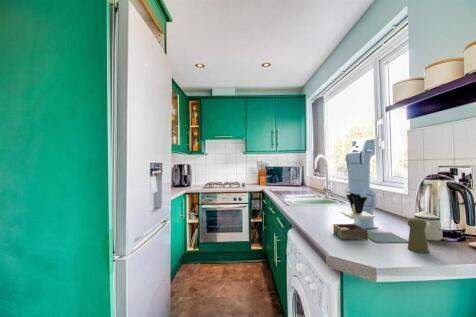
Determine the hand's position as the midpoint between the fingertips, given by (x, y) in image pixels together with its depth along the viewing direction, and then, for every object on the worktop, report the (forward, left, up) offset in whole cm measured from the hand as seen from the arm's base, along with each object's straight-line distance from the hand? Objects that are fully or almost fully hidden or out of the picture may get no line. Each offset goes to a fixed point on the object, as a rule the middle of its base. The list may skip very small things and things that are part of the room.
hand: (356, 212), depth 99 cm
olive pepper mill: (+16, +14, -11) cm, 23 cm away
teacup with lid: (+3, +27, -11) cm, 29 cm away
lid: (0, 0, -2) cm, 2 cm away
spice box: (0, -3, -10) cm, 11 cm away
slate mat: (+2, +10, -10) cm, 14 cm away
